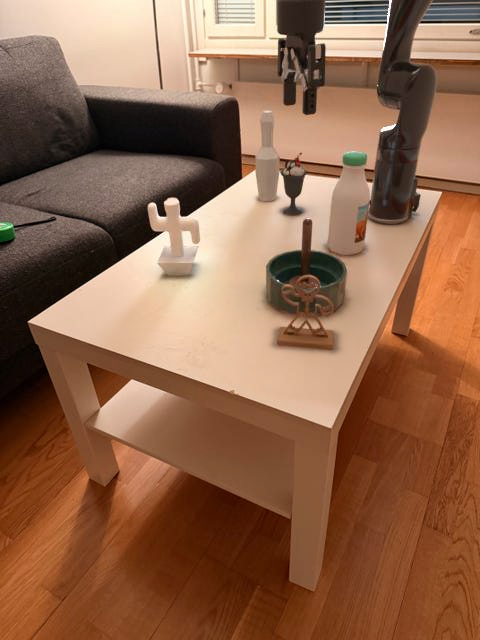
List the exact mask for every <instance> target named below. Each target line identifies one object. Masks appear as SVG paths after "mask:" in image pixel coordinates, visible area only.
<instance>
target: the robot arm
mask: <svg viewBox="0 0 480 640" xmlns="http://www.w3.org/2000/svg"><path fill="white" fill-rule="evenodd" d="M433 2H434V0H389V6H388V7H389V8H388V13H387V14H388V15H387V24H386V29H385V30H386V31H385V37H384V42H383V48H382V54H381V59H380V62H379V63H380V64H379V68H378V69H379V70H378V74H377V79H376V97H377V100H378V103H379V105H380V106H381V107H383V108H385V109H388V110H392V111H397V112H399V113H398V117H397V120H396V123H395V124H394V125H391V126H387V127H383V128H382V129H381V130H379V133H378V138H377V145H376V153H375V161H374V169H373V177H372V183H371V191H370V200H369V210H368V218H369V219H370V220H371V221H373V222H374V223H375V222H376V223H379V224H385V225H397V224H402V223H405V222H406V221H407V220H410V219H412V215H413V213H416V212H417V211H418V209H419V207H420V201H421V196H422V195H421V194H420V193H418V192H417V189H418V182H419V179H418V178H417V177H416V173H417V168H418V163H419V157H420V151H421V145H422V142H423V138H424V136H425V134H426V132H427V129H428V125H429V122H430V118H431V113H432V109H433V105H434V101H435V97H436V93H437V88H438V87H437V86H438V75H437V71H436V69H435V68H434V67H433V66H432V65H431V64H428V63H423V62H415V61H411V56H412V49H413V44H414V39H415V35H416V33H417V29H418V27H419V25H420V23H421V21H423V18H424V16H425V15H426V13H427V11H428V10H429V8H430V6H431V5H432V3H433ZM325 15H326V0H276V31H277V33H278V35H281V36H285V37H282V38H278V40H277V77H278V78H280V81H281V83H282V84H283V85H282V86H283V87H282V91H283V93H282V94H283V95H282V97H283V98H282V103H283V105H284V106H287V107H289V106H295V105H296V104H297V82H296V81H297V78H298V79H300V82H301V86H302V110H301V111H302V114H303V115H305V116H310V115H315V114H316V112H317V103H318V102H317V100H318V99H317V96H318V90H319V89H320V88H322V87H325V84H326V82H325V81H326V52H327V51H326V50H327V49H326V48H327V47H326V46H327V45H326V43H324V42H323V43H317V42H316V35H317V34H320V33H323V31H324V30H325V17H326V16H325Z"/></svg>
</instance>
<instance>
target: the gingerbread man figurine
mask: <svg viewBox="0 0 480 640" xmlns="http://www.w3.org/2000/svg"><path fill="white" fill-rule="evenodd" d="M306 278H310V279H313V280H315V281H316V282H317V283H318V285H315V283H314V282H311V283H310V284H307V283H306V282H302V284H298V283H299V282H300V281H301V280H303V279H306ZM298 286H302V287H301V291H302V292H301V291H300V290H299V288H298ZM306 287H310V288H313V289H312V290H310V291H307V290H305V289H303V288H306ZM314 287H318V289H317V291H316V292H315V288H314ZM284 288H290V289H291V290H289V291H287V290H286V291H285V292H284V291H283V289H284ZM296 290H297V292H298V293H299V294H298V293H295V291H294V287H293V286H292V285H290V284H285V285H284V286H283V287H282V289H281V294H282V297H283V299H284V300H285V301H286V302H287V303H289V304H291V305H294V306H297V315H295V316H294V317H293V318H292V320H291V321H290V322H289V324H288V325H287V326H280V327H279V328H278V333H277V338H276V345H277V346H285V347H296V348H309V349H310V348H311V349H322V350H333V349H334V335H335V333H334V331H333V330H331V329H326V328H325V327H324V326H323V324H322V322H321V320H320V319H319V317H318V315H316V313H317V307H318V308H320V310H321V314H320V315H322V316H323V317H330V316H332V315H333V314H334V310H333V304H332V302H331V301H330V300H329V299H328V298H327V297H325V296H322V295H317V294H318V293H319V291H320V281H319V280H318V279H317V278H316V277H315V276H312V275H304V276H302V277H300V278H299V279H298V280H297V283H296ZM313 292H314V293H313ZM311 293H312V294H311ZM286 294H287V295H289V294H293V295H294V296H296V297H302V302H304V301H306V302H305V306H306V308H305V313H304V312H302V313H301V312H299V303H297V302H292V301H290V300H289V299H287V298H286ZM305 294H307V296H305ZM309 294H310V296H309V297H308V295H309ZM313 298H320V299H323V300H325V301H327V302H328V303H329V304H330V305H329V307H328V306H326V307H323V308H322V306H321V305H319V304H315V313H309V308H308V306H309V301H310V302H313ZM326 310H328V311H329V310H331V311H330V312H328V313H325V312H323V311H326ZM299 317H303V318H304V317H305V318H306V319H305V320H304V321H303V322H302V323H301V325H300V326H299V327H296V326H295V325H294V326H293V324H294V323H295V322H296V320H297V319H298V318H299ZM307 318H314V319H315V321H316V322H317V324H318V326H319V327H317V328H313V326H312V325H311V323H310V322H309V320H308V319H307ZM305 325H307V328H305Z"/></svg>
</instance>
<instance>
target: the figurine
mask: <svg viewBox="0 0 480 640" xmlns="http://www.w3.org/2000/svg"><path fill="white" fill-rule="evenodd" d="M163 206H164V211H165V213H166V216H160V215H159V213H158V208H157V204H156V203H155V202H150V203H148V205H147V214H148V218H149V224H150V225H149V226H150V228H151V230H152V231H154V232H168V236H169V242H170V245H164V246H163V248H162V250H161V252H160V255H159V258H158V260H157V262H156V263H157V265H158V266H159V268H161V269H162V270H163V272H165V274H166V276H190V274H191V271H192V268H193V266H194V262H195V260H196V257H197V253H198V249H199V244H200V242H201V233H200V232H201V231H200V224H199V221H198V218H197V217H195V216H181V214H180V213H181V212H180V211H181V206H180V201H179V199H178V198H177V197H168V198H167V199H166V200H165V201H164V202H163ZM183 232H189V233H190V236H191V242H192V244H193V245H185V244H184V237H183Z"/></svg>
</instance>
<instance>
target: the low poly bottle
mask: <svg viewBox="0 0 480 640" xmlns="http://www.w3.org/2000/svg"><path fill="white" fill-rule="evenodd" d="M259 122H260V131H261V146H260V148H259V150H258V151H257V153H256V154H255V155H254V163H255V167H254V169H255V177H256V178H255V179H256V180H255V181H256V186H257V194H258V199H259V200H260V201H262V202H273V201H275V200H277V194H278V186H279V178H280V164H281V163H280V157H281V155H280V154H279V153H278V151H277V150H276V148H275V147H274V129H275V127H274V126H275V117H274V115H273V111H272V110H262V112H261V116H260V121H259Z"/></svg>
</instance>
